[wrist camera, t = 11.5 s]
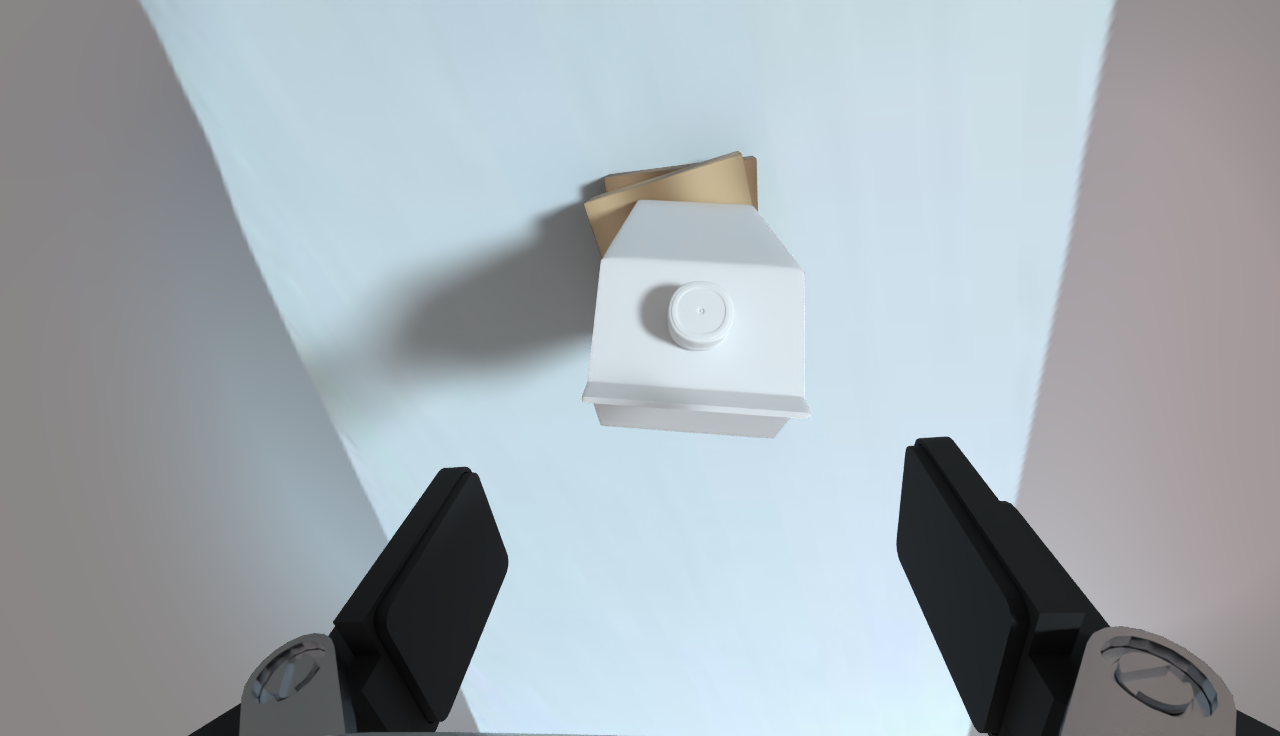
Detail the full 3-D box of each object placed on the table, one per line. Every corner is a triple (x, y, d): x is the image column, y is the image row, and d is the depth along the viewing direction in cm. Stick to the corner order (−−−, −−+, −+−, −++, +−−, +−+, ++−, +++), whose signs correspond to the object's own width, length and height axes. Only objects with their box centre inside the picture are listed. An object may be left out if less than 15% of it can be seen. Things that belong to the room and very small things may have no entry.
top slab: (737, 150, 32) (741, 154, 30) (767, 295, 37) (773, 309, 34) (591, 196, 35) (583, 203, 32) (635, 328, 39) (631, 344, 36)
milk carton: (739, 314, 34) (792, 506, 17) (634, 307, 35) (583, 489, 18) (753, 204, 31) (835, 305, 14) (637, 198, 31) (579, 290, 14)
